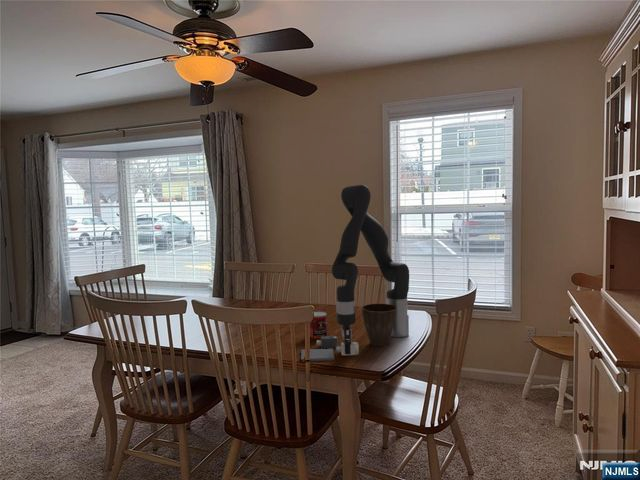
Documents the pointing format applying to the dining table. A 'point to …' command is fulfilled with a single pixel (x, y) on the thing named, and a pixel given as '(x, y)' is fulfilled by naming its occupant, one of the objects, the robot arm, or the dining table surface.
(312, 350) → the felt pad
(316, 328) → the canned food
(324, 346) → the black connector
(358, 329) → the dining table surface
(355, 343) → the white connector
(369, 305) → the plant pot
